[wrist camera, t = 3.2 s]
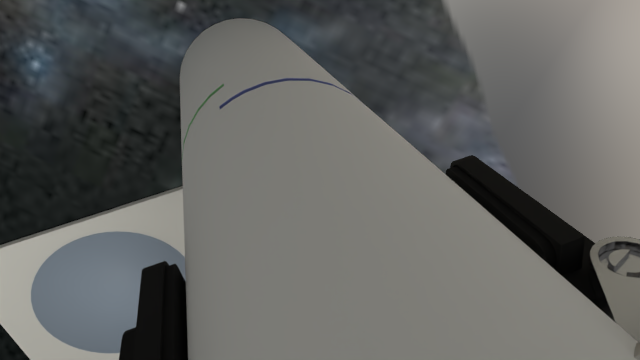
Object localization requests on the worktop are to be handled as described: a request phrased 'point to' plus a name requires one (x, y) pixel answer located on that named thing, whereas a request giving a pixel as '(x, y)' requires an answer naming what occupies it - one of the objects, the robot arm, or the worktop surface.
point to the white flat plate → (87, 278)
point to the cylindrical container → (346, 229)
